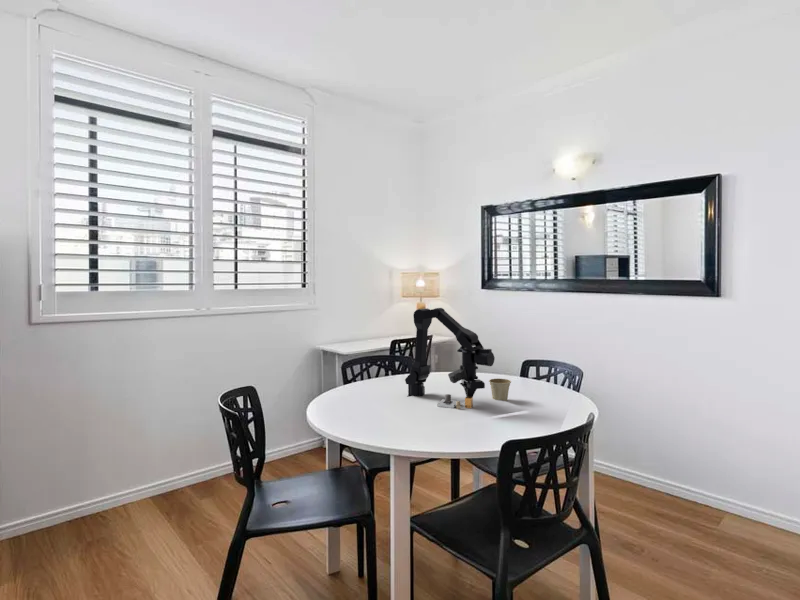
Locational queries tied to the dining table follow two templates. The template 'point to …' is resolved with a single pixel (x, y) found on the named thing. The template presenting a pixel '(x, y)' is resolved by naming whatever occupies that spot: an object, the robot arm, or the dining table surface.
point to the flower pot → (500, 388)
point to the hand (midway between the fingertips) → (469, 401)
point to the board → (448, 400)
